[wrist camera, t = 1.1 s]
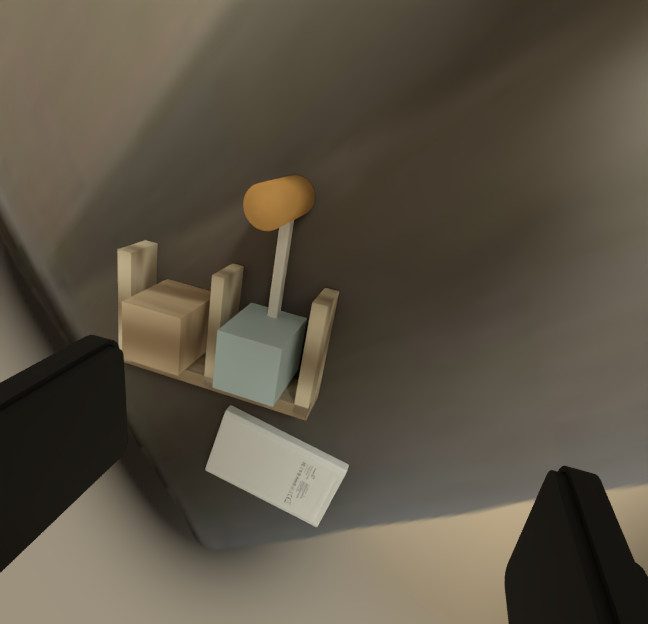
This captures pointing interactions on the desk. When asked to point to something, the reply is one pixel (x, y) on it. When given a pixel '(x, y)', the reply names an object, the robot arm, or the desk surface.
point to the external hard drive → (275, 466)
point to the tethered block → (260, 321)
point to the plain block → (166, 326)
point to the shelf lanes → (224, 304)
